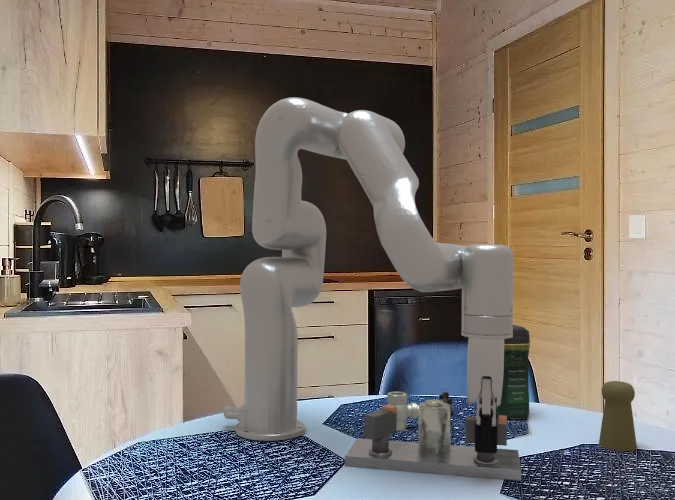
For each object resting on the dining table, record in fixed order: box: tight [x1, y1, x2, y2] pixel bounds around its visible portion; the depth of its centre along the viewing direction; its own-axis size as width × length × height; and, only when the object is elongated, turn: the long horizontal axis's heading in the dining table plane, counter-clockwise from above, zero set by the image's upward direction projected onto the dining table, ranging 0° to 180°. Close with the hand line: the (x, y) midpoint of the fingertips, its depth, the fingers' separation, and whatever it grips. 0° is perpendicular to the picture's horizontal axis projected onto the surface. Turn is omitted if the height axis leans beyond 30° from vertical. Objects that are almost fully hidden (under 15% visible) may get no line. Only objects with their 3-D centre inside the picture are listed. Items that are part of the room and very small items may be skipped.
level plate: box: [344, 398, 522, 482], centre depth 102 cm, size 26×10×9 cm, turn 77°
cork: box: [598, 380, 638, 452], centre depth 112 cm, size 6×6×11 cm
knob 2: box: [464, 415, 508, 462], centre depth 98 cm, size 6×3×6 cm, turn 77°
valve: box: [386, 391, 455, 432], centre depth 123 cm, size 7×7×12 cm
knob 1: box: [363, 404, 397, 453], centre depth 102 cm, size 6×3×6 cm, turn 142°
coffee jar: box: [496, 324, 531, 420], centre depth 133 cm, size 10×8×19 cm
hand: (485, 447), depth 98 cm, fingers closed on knob 2, 2 cm apart
